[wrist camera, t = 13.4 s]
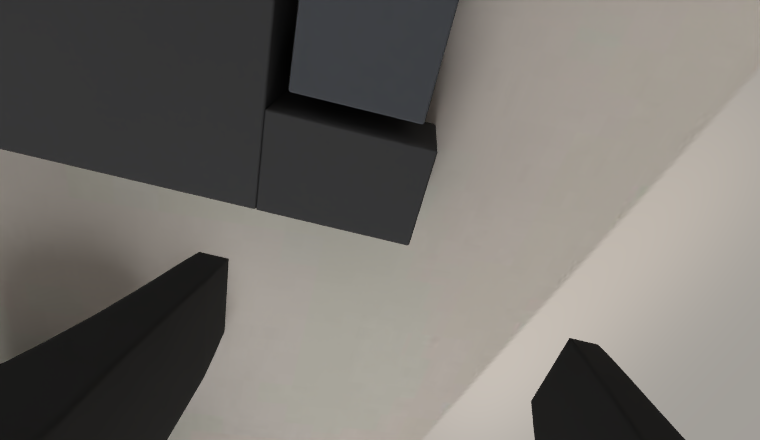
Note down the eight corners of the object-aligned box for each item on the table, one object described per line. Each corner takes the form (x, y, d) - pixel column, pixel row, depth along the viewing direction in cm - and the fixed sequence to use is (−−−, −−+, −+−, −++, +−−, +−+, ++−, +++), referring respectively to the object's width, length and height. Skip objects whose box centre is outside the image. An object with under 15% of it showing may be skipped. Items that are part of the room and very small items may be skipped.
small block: (460, -31, 15) (467, -31, 12) (423, 101, 17) (424, 125, 15) (327, -65, 15) (306, -73, 12) (308, 73, 17) (287, 92, 14)
